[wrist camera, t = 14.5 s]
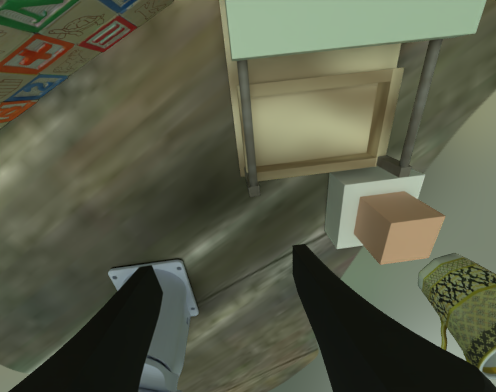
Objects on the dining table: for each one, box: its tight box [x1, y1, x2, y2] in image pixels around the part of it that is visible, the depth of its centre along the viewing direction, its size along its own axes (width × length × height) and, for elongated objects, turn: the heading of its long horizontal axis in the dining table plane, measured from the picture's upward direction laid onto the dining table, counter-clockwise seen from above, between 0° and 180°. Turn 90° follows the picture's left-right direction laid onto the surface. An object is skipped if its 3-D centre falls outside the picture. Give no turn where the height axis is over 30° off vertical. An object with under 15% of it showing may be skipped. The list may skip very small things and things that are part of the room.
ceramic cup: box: [418, 253, 496, 379], centre depth 25 cm, size 13×10×10 cm
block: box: [354, 191, 445, 265], centre depth 18 cm, size 4×4×4 cm
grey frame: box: [219, 0, 443, 197], centre depth 15 cm, size 13×13×5 cm
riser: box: [324, 166, 425, 249], centre depth 21 cm, size 7×7×3 cm
